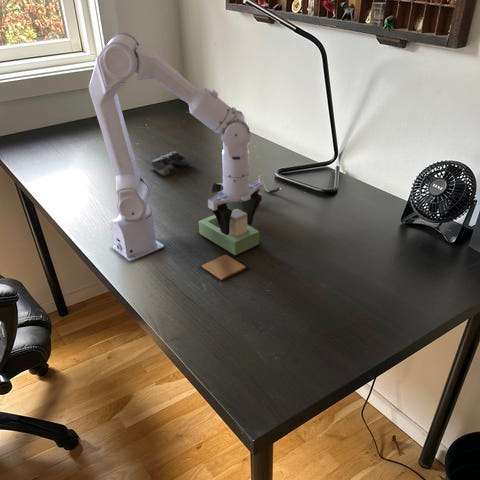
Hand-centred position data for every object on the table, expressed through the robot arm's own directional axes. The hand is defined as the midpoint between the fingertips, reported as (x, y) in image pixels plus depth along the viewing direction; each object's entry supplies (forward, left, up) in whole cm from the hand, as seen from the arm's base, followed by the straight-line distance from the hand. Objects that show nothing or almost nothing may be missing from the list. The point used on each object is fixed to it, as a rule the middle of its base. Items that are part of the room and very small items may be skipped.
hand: (236, 228), depth 115 cm
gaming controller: (+14, +48, -4) cm, 50 cm away
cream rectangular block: (0, 0, -4) cm, 4 cm away
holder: (0, +3, -4) cm, 5 cm away
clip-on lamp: (+18, +16, -4) cm, 24 cm away
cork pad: (-9, -6, -4) cm, 12 cm away
